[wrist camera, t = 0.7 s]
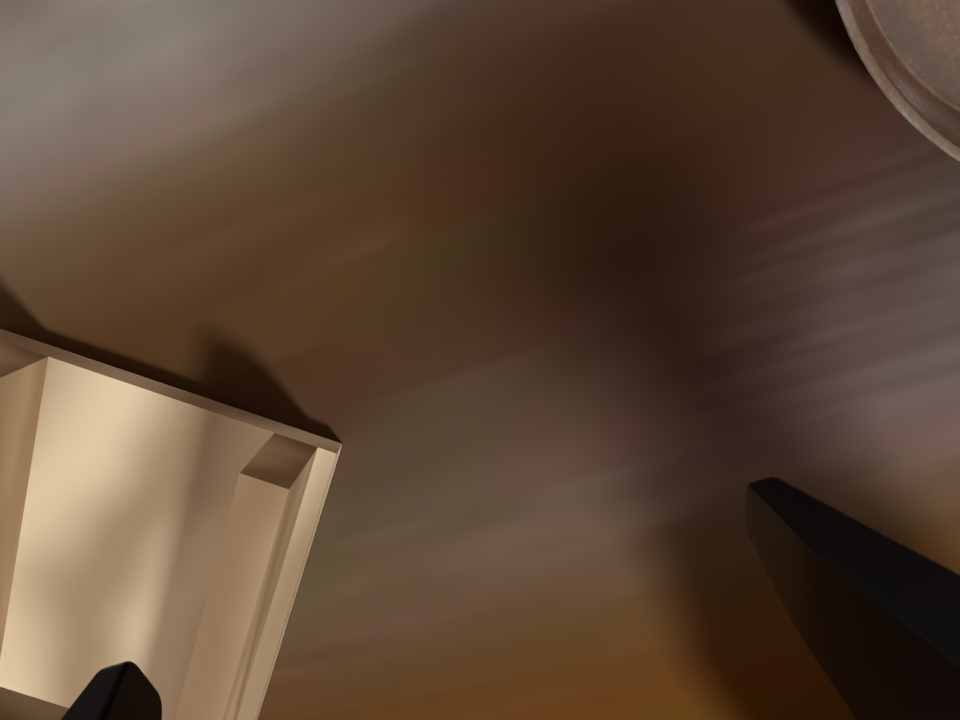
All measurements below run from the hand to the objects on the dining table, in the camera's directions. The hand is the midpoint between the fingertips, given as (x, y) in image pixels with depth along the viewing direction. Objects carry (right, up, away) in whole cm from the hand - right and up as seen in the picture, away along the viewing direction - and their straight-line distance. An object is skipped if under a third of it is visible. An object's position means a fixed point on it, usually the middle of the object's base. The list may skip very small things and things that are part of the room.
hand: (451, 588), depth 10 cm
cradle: (-12, -4, +16) cm, 20 cm away
